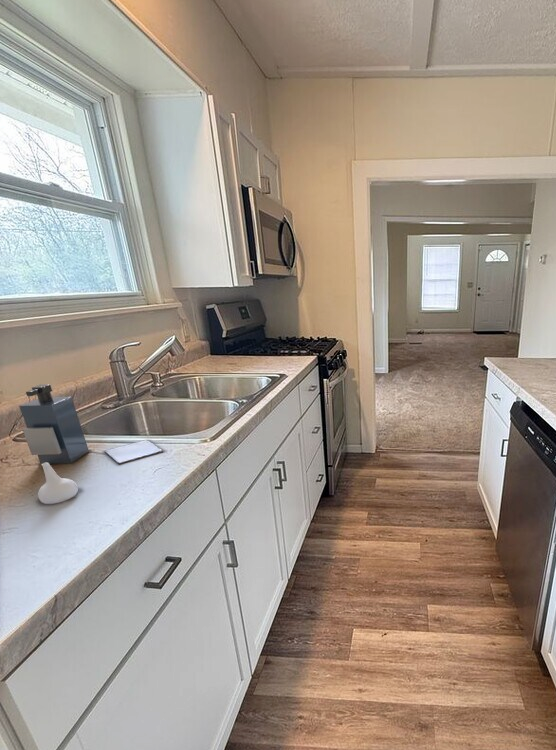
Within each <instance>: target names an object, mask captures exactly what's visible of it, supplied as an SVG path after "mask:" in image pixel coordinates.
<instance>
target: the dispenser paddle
mask: <svg viewBox="0 0 556 750" xmlns="http://www.w3.org/2000/svg"><path fill="white" fill-rule="evenodd" d="M21 431H22V433H23V436H24V438H25V441H26V443H27V446H28V449H29V451H30V455H32V456H38V455H48V454H60V453H61V449H60V447H59V444H58V441H57V438H56V435H55V432H54V429H53V427H33V428H27V427H23V428H22V429H21Z"/></svg>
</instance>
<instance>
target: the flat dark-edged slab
mask: <svg viewBox="0 0 556 750" xmlns="http://www.w3.org/2000/svg"><path fill="white" fill-rule="evenodd" d="M104 453H105V454H106V455H107V456H109V457H110V458H111V459H112V460H113V461H115V463H117V464H118V465H122V464H126V463H130V462H132V461H133V462H134V461H136V460H140V459H143V458H147V457H151V456H154V455H158V454H161V453H164V450H163V449H161V448H160V447H159V446H157V445H156V444H154V443H153V442H151V441H149V440H148V439H144V440H140V441H137V442H132V443H129V444H125V445H121V446H118V447H113V448H110V449H109V448H108V449H106V450H104Z"/></svg>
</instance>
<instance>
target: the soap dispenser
mask: <svg viewBox="0 0 556 750" xmlns="http://www.w3.org/2000/svg"><path fill="white" fill-rule="evenodd" d="M52 392H53V389H52V385H51V384H38V385H35V386H31V389H30V390H27V391H25V394H26V397H33V396H36V398H35V399H33V400H31V401H28V402H25V403H23V404H20V405H18V407H19V410H20V412H21V416H22V418H23V420H24V424H25V425H26V428H33V427H53V429H54V432H55V435H56V438H57V441H58V444H59V447H60V449H61V453H60V454H48V455H37V457H38V460H39V463H40V464H43V463H45V462H48V463H49V464H72V463H74V462H75V461H76V460H79V459H80V458H81V457H84V455H86V454H88V453H90V450H89V446H88V444H87V439H86V437H85V434H84V430H83V428H82V424H81V422H80V419H79V418H80V417H79V415H78V412H77V409H76V405H75V403H74V400H73V396H53V395H52Z"/></svg>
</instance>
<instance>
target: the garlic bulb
mask: <svg viewBox="0 0 556 750" xmlns="http://www.w3.org/2000/svg"><path fill="white" fill-rule="evenodd" d="M40 464H41V463H40ZM41 466H42V469H43V473H44V476H45V478H44V479H45V483H43V485H41V486H40V488H39V489H38V492H37V493H38V494H37V496H38V499H39V501H40V502H41V503H42V504H45V505H52V504H58V503H61V502H65V501H67V500H70V499H72V498H73V497H75V496H76V495H77V494H78V492H79V487H78V485H77V483H76V482H75V481H74V480H72V479H70V478H67V477H66V478H64V477H63V478H62V477H60V475H58V473H57V472H56V471H55V469H54V468H53V467H52V465H50V464H49V463H48V462H45V463H43V464H41Z"/></svg>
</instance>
